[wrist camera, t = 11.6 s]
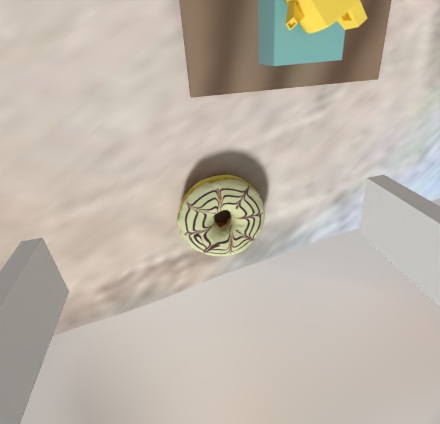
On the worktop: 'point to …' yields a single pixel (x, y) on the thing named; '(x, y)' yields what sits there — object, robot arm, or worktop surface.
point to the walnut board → (249, 50)
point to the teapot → (324, 14)
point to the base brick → (294, 38)
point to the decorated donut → (214, 203)
